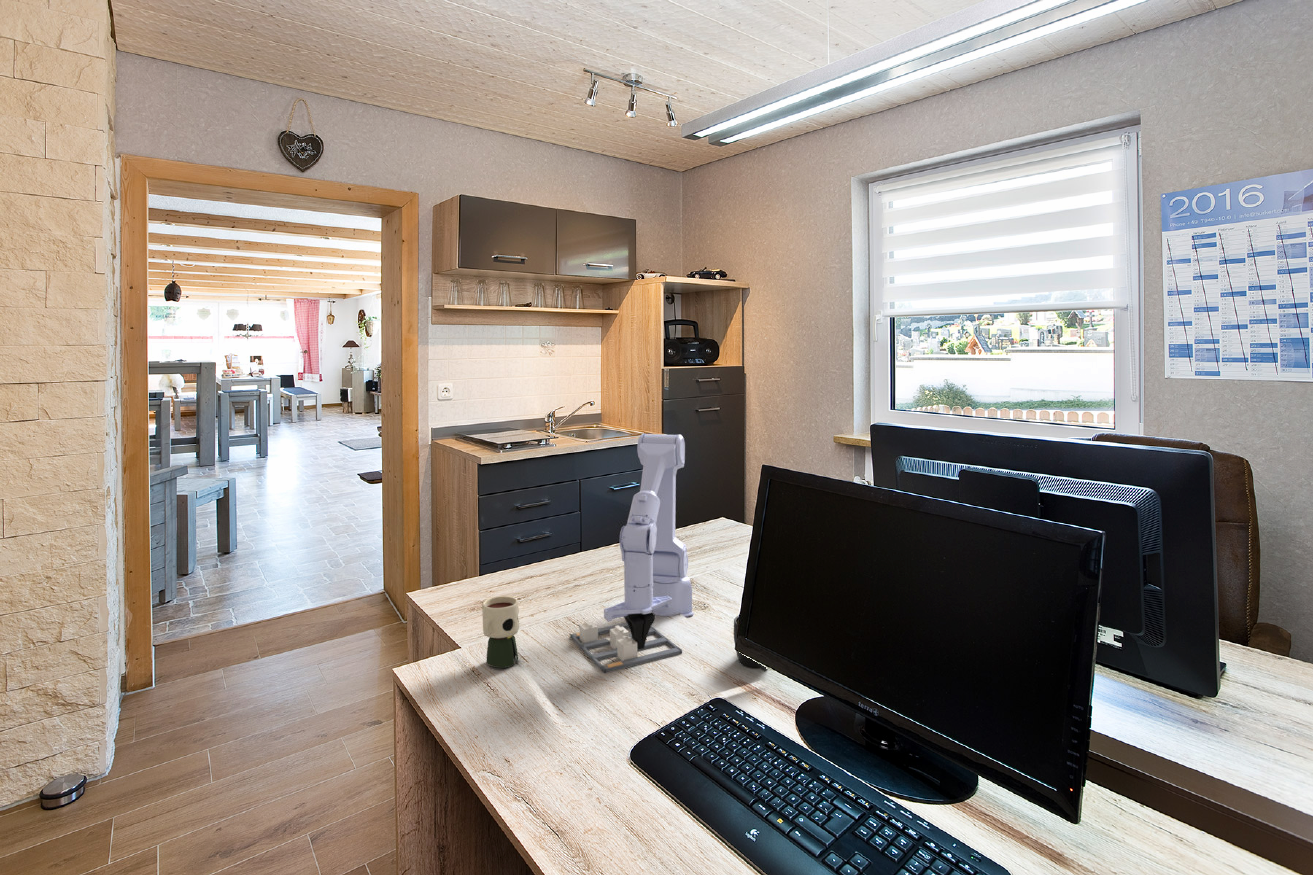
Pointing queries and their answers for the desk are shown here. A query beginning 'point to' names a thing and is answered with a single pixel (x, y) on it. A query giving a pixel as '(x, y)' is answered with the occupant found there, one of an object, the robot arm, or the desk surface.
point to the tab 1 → (588, 632)
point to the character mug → (501, 630)
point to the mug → (743, 659)
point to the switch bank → (614, 652)
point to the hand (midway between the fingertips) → (639, 647)
